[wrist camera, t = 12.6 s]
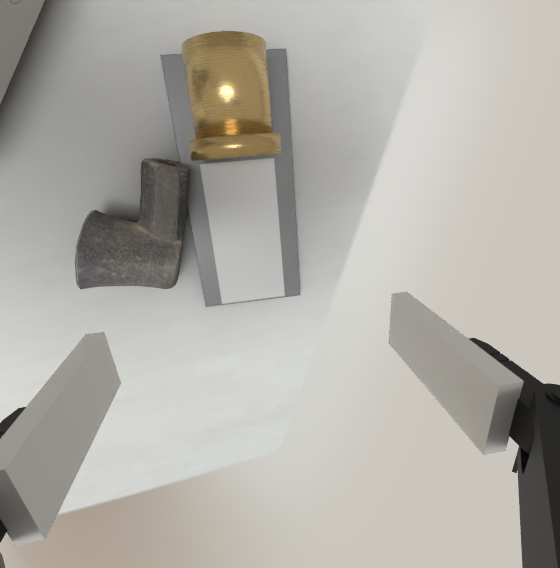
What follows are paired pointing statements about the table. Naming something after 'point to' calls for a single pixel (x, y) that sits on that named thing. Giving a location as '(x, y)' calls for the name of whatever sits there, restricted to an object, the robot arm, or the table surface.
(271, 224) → the base
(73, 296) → the table surface
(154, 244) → the pipe
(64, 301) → the table surface
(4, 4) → the grey napkin holder
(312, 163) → the table surface
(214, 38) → the cylinder
